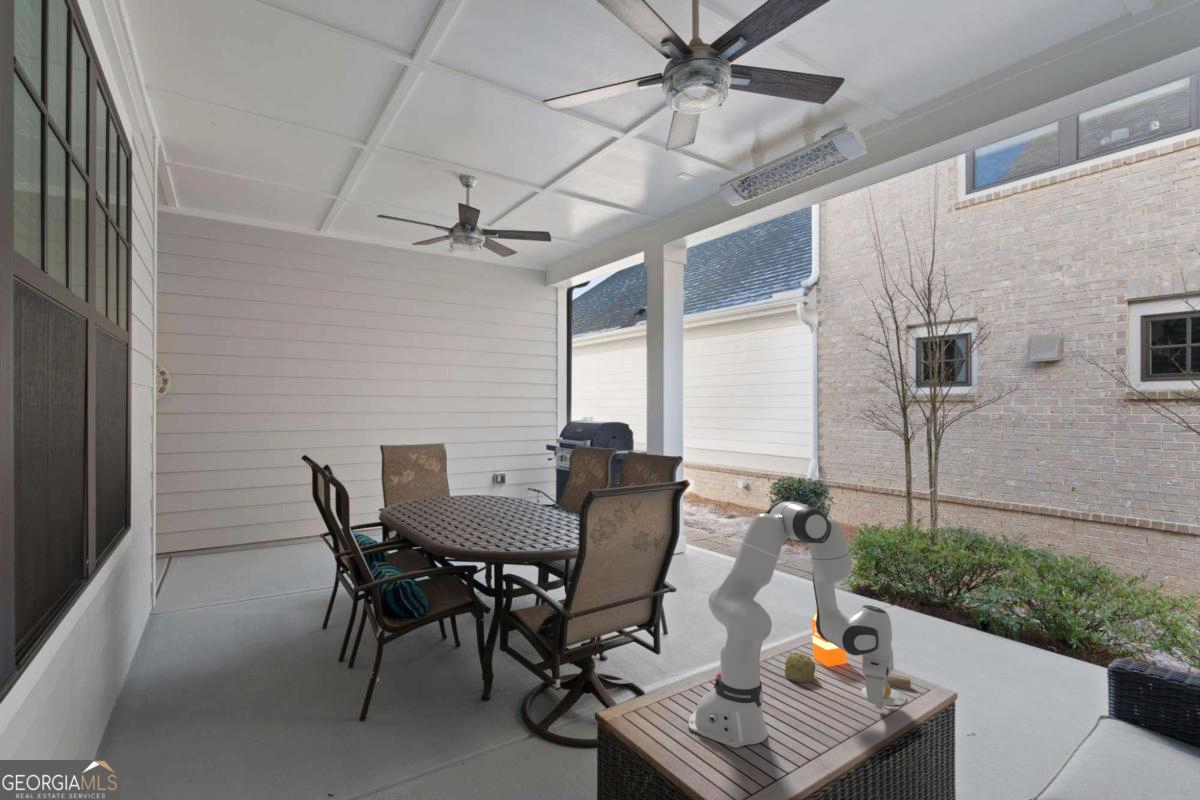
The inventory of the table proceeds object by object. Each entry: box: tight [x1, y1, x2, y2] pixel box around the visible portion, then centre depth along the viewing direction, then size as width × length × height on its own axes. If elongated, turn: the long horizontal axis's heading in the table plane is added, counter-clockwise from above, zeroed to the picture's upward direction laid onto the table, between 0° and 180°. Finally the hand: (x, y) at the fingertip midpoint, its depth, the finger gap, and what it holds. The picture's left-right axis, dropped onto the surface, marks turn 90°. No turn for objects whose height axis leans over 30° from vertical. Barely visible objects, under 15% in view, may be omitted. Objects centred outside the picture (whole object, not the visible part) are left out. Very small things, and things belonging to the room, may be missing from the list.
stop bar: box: [863, 673, 912, 690], centre depth 182 cm, size 2×14×3 cm, turn 57°
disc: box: [861, 686, 907, 707], centre depth 174 cm, size 13×13×1 cm
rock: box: [784, 652, 816, 684], centre depth 188 cm, size 10×11×10 cm
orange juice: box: [811, 611, 848, 667], centre depth 201 cm, size 8×9×20 cm
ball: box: [884, 683, 892, 698], centre depth 173 cm, size 5×5×5 cm
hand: (879, 706), depth 164 cm, fingers closed
